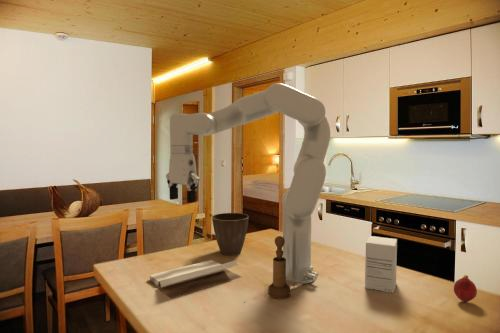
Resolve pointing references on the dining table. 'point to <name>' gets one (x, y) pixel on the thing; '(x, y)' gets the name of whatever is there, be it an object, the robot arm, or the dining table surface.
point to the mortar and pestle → (279, 273)
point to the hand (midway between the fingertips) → (182, 200)
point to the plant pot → (230, 232)
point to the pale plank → (198, 273)
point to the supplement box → (381, 264)
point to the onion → (465, 289)
